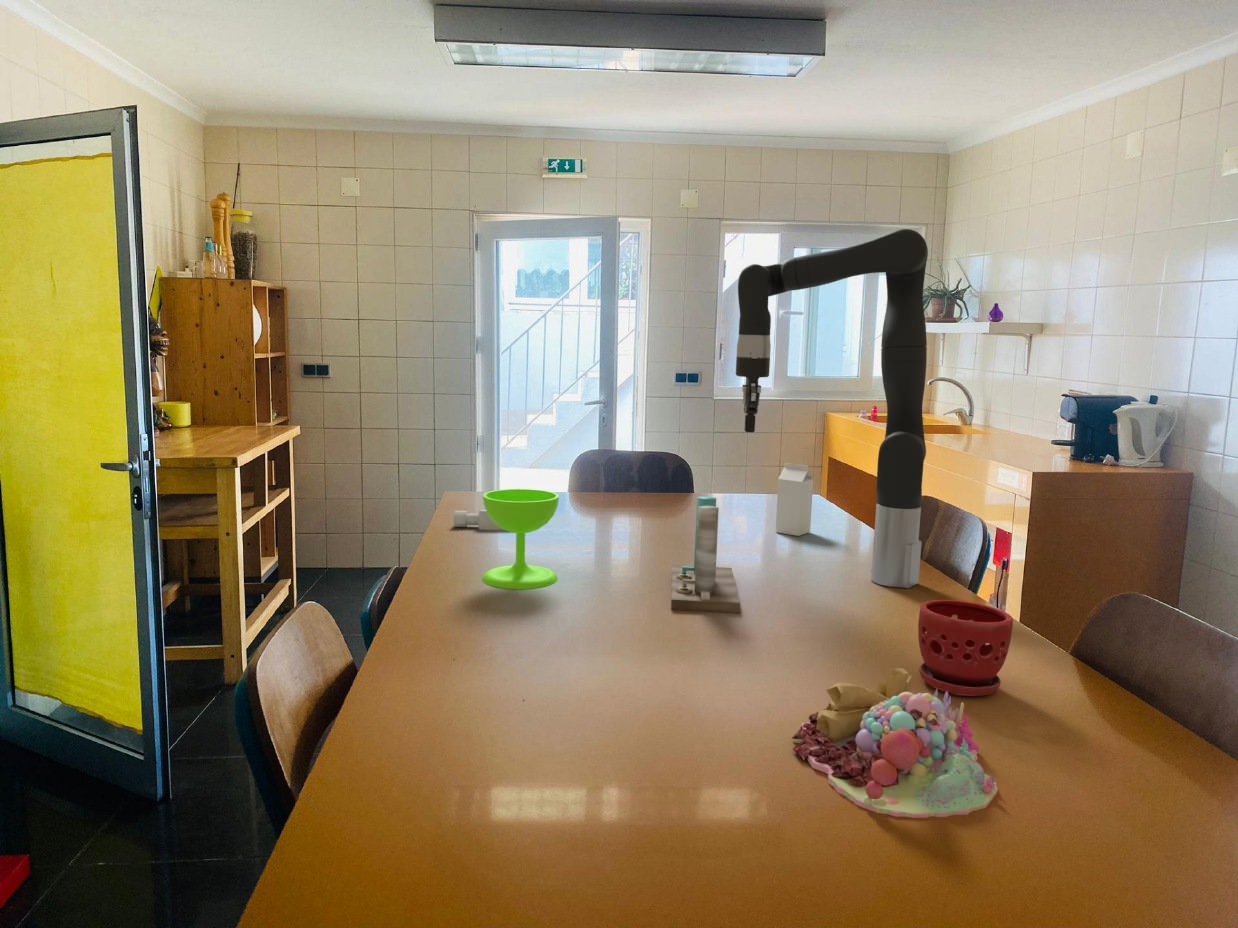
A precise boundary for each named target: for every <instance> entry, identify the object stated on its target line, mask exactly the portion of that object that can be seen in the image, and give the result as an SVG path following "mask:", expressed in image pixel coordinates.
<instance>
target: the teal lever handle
mask: <svg viewBox="0 0 1238 928" xmlns="http://www.w3.org/2000/svg"><path fill="white" fill-rule="evenodd" d="M699 506H715V507H717V497H715V496H708V495H707V496H704V495H703V496H701V495H700V496H697V497H696V509H695V510H696V513H695V514H696V515H695V519H696V520H695V535H694V537H695V538H694V560H693V562H694V563H693V566H694V567H688V566H689V565H682V566H683V568H682V574H684V575H685V574H686V571H694V574H695V568H696V544H697V520H698V507H699Z"/></svg>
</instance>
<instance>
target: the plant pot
mask: <svg viewBox="0 0 1238 928" xmlns="http://www.w3.org/2000/svg"><path fill="white" fill-rule="evenodd" d="M919 607H920V608H919V614H918V622H917V623H918V624H917V630H918V631H917V634H918V635H917V636H918V646H919V650H920V654H921V658H922V660H923V663H921V664H920V665H919V669H918V671H919V672H918V673H919V675H920V676H921V678H922V679H923V680H924V682H926V683H927V684H928V685H929V686H931V687H933V688H935V689H937V690H938V691H942V692H945V693H946V691H947V692H948V694H951V695H953V696H955V697H956V696H957V697H958V696H966V697H980V696H986V695H990V694H993V693H995V692H996V691H997V690H998V689H999V688H1000V686H1001V684H1002V682H1001V681H1002V680H1001V678H1000V677H999V675H998V673H999V672H1000V671H1001V669H1002V668H1003V666H1004V665H1005V664H1004V663H1005V662H1006V659H1007V656H1008V653H1009V649H1010V645H1011V640H1012V633H1013V625H1014V624H1013V623H1014V619H1013V616H1011V614H1010V613H1008V612H1006V611H1004V610H1001V609H999V608H996V607H993V606H990V605H986V604H981V603H977V602H970V601H965V600H964V601H963V600H957V599H955V600H952V599H935V600H928V601H924V602H922V603H921V605H920V606H919ZM953 616H957V618H954V617H953Z"/></svg>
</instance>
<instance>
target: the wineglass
mask: <svg viewBox="0 0 1238 928" xmlns="http://www.w3.org/2000/svg"><path fill="white" fill-rule="evenodd" d="M559 499H560V494H558V493H556V492H553V491H550V490H549V491H548V490H545V489H544V490H543V489H532V488H506V489H498V490H497V489H495V490H489V491H487V492H485V493H483V494H482V500H483V505H484V510H486V511H487V513H488V515H489V517H490V518H491V519H492V520H493V522H494V523H495V524H497V525H498V526H499V527H501V528H502V529H504V530H503V531H507V532H510V533H514V534H515V562H514V564H510V565H502V566H496V567H494V568H491V569H489V570H487V571H486V572H484V574H483V576H482V578H481V580H482V582H483V583H485V584H487V585H489V586H491V587H496V588H501V589H510V590H529V589H531V590H532V589H539V588H543V587H549V586H551V585H553V584H555V583H556V582H557V581H558V576H557V574H556V573H555V572H554V571H553V570H551V569H550V568H547V567H544V566H539V565H535V564H533V565H532V564H527V563H526V534H528V533H531V532H535V531H537V530H539V529H541V528H542V527H543V526H545V525H547V524H548V523H549V521H550V520H551V519H552V518H553V517H554V515H555V513H556V510H557V508H558V505H559Z"/></svg>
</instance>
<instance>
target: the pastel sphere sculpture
mask: <svg viewBox="0 0 1238 928" xmlns="http://www.w3.org/2000/svg"><path fill="white" fill-rule="evenodd" d="M912 677H913V676H912V675H911V674H910V673H909V672H908V671H907V670H906V669H904V668H903V667H892V668H890V669H888V672H887V674H886V677H885V681H886V683H883V682H881V681H879V682H878V684H877V687H876V691H874V690H873V689H870V688H868V687H863V686H860V685H857V684H853V683H848V682H847V683H846V682H837V683H835V684H833V685H832V686H830V687H828V688H827V689H826V692H827V694H828V695H829V698H830V699H831V702H828V705H827V707H826V708H824V709H822V710H820V711H817V712H815V713H812V714H810V715H809V717H808V720H809V721H808V722H807V721H806V722H805V721H804V722H802V723H801V725H800V729H798V730H797V732H796V733H795V734H794V735H793V736H792V737H791V740H792V739H793V740H801V741H800V742H799V743H798V744H796V745H795V746H794V747H792V751H794V752H795V753H796V755H798V756H799V757H800V759H802V760H803V761H806V760H807V762H808V763H809V765H810V766H811V768H812V769H813V770H817V771H820V772H822V773H824V774H827V779H828V783H827V784H828V785H829V786H831V787H833V788H834V790H835V791H836V792H837V793H838V794H840V795H843V796H844V797H846V798H847V799H848V800H849V801H851V802H852V803H853V804H854V805H856V806H859V807H861V808H863V809H866V810H869V811H871V812H873V813H877V814H884V815H885V814H886V815H890V816H892V817H896V818H897V817H906V818H912V819H916V818H917V819H922V818H923V819H924V818H929V817H936V818H947V817H949V816H963V815H965V816H967V815H969V814H970V813H971V812H974V811H978V810H981V809H986V808H987V807H988V806H989V804H990V803H991V801H993V799H994V798H995V796H997V794H998V792H999V791H998V790H999V788H998V787H997V786H996V784H997V783H996V781H995V776H993V777H992V775H988V774H986V773H985V772H984V768H983V766H981V764H980V763H979V762H978V752H979V751H980V747H979V745H978V744H977V743H975V742H973V740H972V738H973V737H974V731H973V730H970V728H969V726H970V725H969V722H970V721H969V720H968V717H967V716H966V713H965V712H964V710H965V703H964V702H961V704H960V707H956V709H954V710H952V708H953V707H952V706H951V705H952V698H951V695H950V693H948V692H947V691H946V692H945V693H944V696H943V700H942V701H941V700H940V699H939V698H938V696H939V694H938V689H937V688H935V691H934V693H933V694H931V693H928V692H924V693H923V692H918V693H916V694H914V693H913V692H910V689H911V687H912V684H913V678H912ZM950 706H951V707H950ZM962 718H963V720H962Z"/></svg>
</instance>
